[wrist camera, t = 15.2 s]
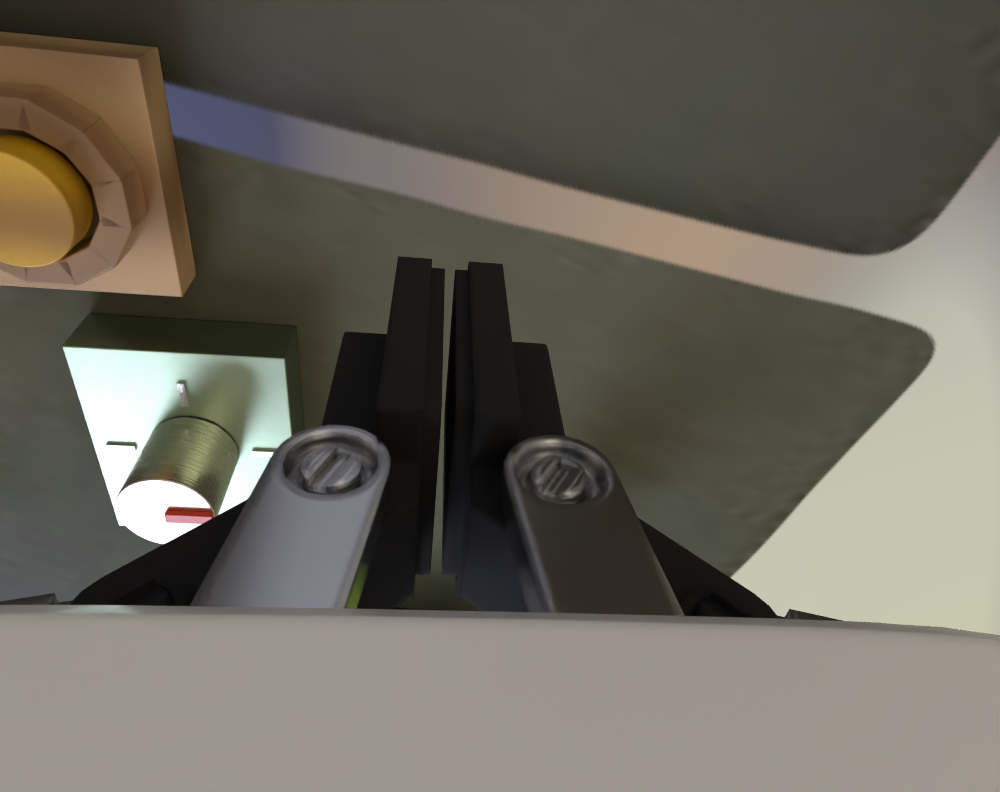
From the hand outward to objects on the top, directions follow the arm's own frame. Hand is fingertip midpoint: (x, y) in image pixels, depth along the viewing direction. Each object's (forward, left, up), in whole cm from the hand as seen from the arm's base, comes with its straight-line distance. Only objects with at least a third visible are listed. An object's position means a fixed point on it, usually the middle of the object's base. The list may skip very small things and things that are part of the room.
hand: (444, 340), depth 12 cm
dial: (+19, -12, -18) cm, 29 cm away
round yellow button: (+5, -16, -17) cm, 24 cm away
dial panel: (+19, -12, -21) cm, 31 cm away
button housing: (+6, -16, -21) cm, 27 cm away
